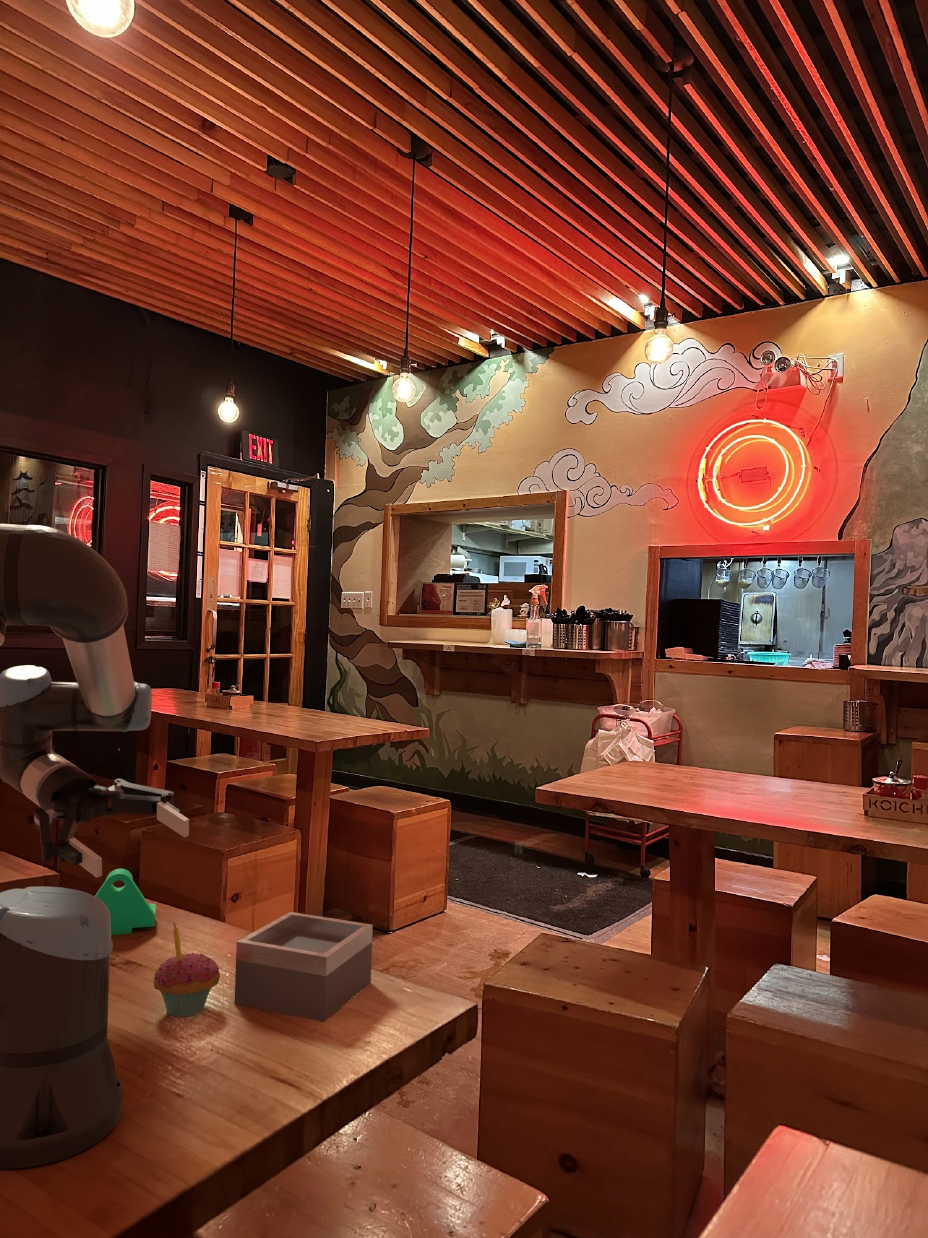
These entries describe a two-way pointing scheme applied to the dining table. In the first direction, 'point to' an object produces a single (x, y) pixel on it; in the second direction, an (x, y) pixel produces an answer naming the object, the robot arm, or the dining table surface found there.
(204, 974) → the cupcake
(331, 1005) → the gray open box
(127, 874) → the camera mount
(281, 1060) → the dining table surface
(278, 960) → the collar
